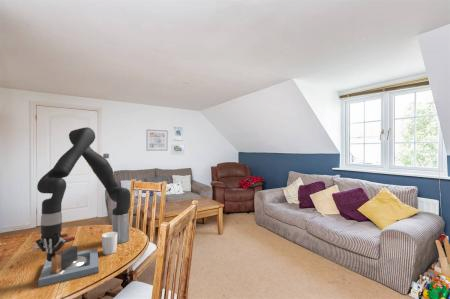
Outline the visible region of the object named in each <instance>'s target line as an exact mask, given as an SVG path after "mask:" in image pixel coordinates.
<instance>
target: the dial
mask: <svg viewBox="0 0 450 299" xmlns="http://www.w3.org/2000/svg"><path fill="white" fill-rule="evenodd" d="M77 252H78V246H77V245H72V246H69V247H68V248H67V249H64V250H63V251H62V252H59V253H58V254H55V256H53V257H52V258H51V273H58V272H61V271H62V270H70V269H75V268H79V267H84V266H86V257H83V256H77Z"/></svg>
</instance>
